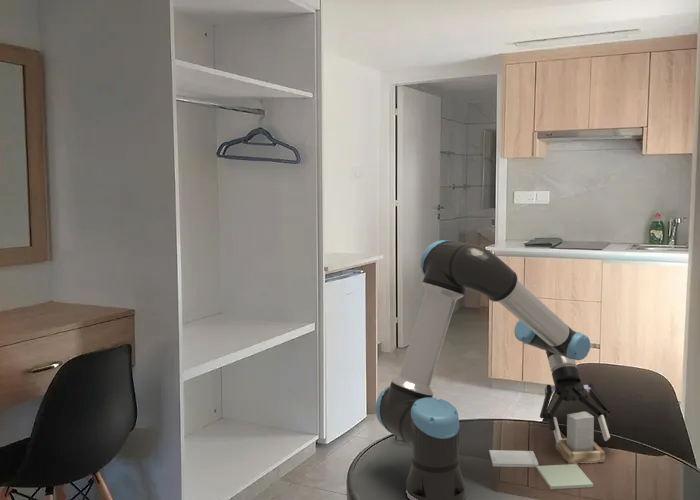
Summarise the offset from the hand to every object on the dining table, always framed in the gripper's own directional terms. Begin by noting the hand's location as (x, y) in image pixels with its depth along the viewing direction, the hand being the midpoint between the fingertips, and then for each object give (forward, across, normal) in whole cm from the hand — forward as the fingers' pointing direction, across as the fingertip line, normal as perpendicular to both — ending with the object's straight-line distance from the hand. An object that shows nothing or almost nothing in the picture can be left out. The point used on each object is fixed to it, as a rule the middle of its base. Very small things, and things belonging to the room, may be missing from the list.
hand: (583, 440), depth 182 cm
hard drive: (+3, +19, -6) cm, 20 cm away
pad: (+11, +9, +3) cm, 14 cm away
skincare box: (+2, 0, -6) cm, 6 cm away
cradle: (+2, 0, -6) cm, 6 cm away
